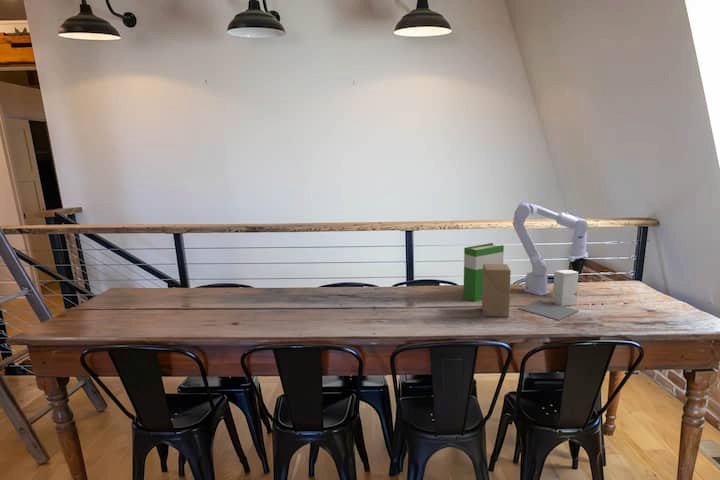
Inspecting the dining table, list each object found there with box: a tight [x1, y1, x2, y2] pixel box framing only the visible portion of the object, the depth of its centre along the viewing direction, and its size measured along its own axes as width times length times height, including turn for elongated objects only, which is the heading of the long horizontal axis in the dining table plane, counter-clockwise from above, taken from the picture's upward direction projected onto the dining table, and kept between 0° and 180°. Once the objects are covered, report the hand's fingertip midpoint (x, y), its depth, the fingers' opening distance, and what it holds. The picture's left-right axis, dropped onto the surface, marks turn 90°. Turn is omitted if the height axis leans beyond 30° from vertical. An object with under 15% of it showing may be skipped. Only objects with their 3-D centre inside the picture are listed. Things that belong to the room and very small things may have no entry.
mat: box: [518, 299, 580, 322], centre depth 184 cm, size 18×16×1 cm
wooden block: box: [481, 263, 512, 318], centre depth 181 cm, size 10×10×20 cm
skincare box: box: [552, 269, 579, 307], centre depth 190 cm, size 8×6×15 cm
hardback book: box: [463, 242, 505, 303], centre depth 203 cm, size 18×7×24 cm, turn 120°
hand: (577, 274), depth 200 cm, fingers closed
